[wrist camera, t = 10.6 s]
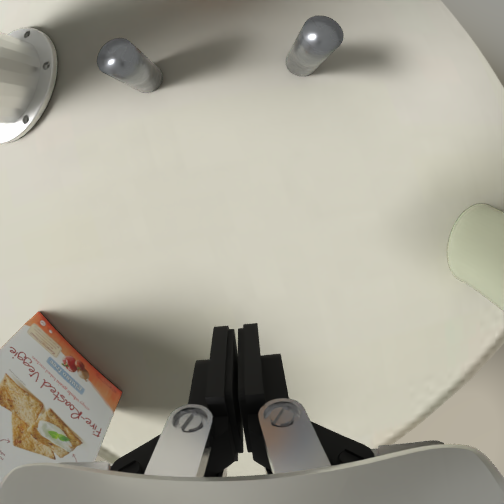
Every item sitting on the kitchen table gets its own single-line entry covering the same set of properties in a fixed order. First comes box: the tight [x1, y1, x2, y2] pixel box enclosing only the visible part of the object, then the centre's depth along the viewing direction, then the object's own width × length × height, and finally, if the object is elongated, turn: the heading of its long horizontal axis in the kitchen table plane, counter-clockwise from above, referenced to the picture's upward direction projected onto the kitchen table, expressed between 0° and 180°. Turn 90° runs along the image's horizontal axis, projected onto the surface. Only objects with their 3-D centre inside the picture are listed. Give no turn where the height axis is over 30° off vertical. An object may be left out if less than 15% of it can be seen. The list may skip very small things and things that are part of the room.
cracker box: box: [0, 312, 122, 483], centre depth 22 cm, size 14×6×21 cm, turn 39°
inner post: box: [97, 38, 163, 93], centre depth 20 cm, size 3×3×8 cm
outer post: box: [286, 16, 343, 76], centre depth 20 cm, size 3×3×8 cm
